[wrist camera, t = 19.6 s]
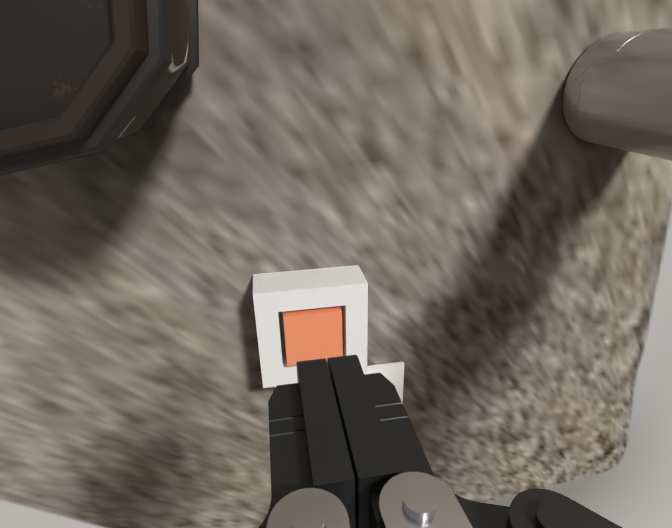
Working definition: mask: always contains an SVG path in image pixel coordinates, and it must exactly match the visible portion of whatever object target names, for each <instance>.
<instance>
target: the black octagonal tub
mask: <svg viewBox="0 0 672 528" xmlns="http://www.w3.org/2000/svg"><path fill="white" fill-rule="evenodd" d="M198 66H199V37H198V0H0V175H4V174H9V173H13V172H17V171H22V170H26V169H30V168H35V167H39V166H43V165H47V164H52V163H56V162H60V161H65V160H69V159H73V158H77V157H82V156H86V155H90V154H95V153H99V152H103V151H108V150H109V148H110V147H111V146H112V144H113V143H114V141H115V140H116V139H120V138H124V137H126V136H128V135H130V134H132V133H134V132H137V131H139V130H141V129H145V128H149V127H153V126H154V125H155V124H156V122H157V121H158V120H159V118H160V117H161V115H162V114H163V113H164V111H165V110H166V109H167V107H168V106H169V105H170V103H171V102H172V101H173V99H174V98H175V97H176V95H177V94H178V93H179V91H180V90H181V89H182V87H183V86H184V85H185V83H186V82H187V81H188V79H189V78H190V76H191V75H192V74H193V72H194V71H195V70H196V68H197V67H198Z"/></svg>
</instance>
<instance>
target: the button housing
mask: <svg viewBox="0 0 672 528" xmlns="http://www.w3.org/2000/svg"><path fill="white" fill-rule="evenodd" d="M253 301H254V310H255V319H256V328H257V337H258V346H259V355H260V364H261V373H262V382H263V388H269V387H276V386H277V385H285V384H293V383H298V380H297V365H293V366H287V359H286V349H285V337H284V325H283V313H282V312H285V311H294V310H304V309H314V308H324V307H334V306H340V307H341V310H342V341H343V356H348V355H357V356H358V358H359V361H360V364H361V367H362V370H363V373H364V375H365V374H367V311H368V283H367V281H366V279H365V277H364V275H363V273H362V271H361V269H360V267H359V266H358V265H354V266H342V267H331V268H319V269H308V270H297V271H285V272H274V273H262V274H253Z"/></svg>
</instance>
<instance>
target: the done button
mask: <svg viewBox="0 0 672 528" xmlns="http://www.w3.org/2000/svg"><path fill="white" fill-rule="evenodd" d="M282 313H283V325H284V337H285V349H286V359H287V366H293V365H296V362H298V361H306V360H315V359H323V358H326V361H327V358H331V357H339V356H343V341H342V310H341V307H340V306H334V307H324V308H314V309H304V310H294V311H285V312H282Z"/></svg>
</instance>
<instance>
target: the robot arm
mask: <svg viewBox="0 0 672 528" xmlns="http://www.w3.org/2000/svg"><path fill="white" fill-rule="evenodd" d="M563 113H564V117H565V120H566V123H567V125H568V127H569V128H570V130H571V131H572V133H574V134H575V135H576V136H577V137H578V138H580V139H582V140H584V141H586V142H590V143H594V144H599V145H603V146H608V147H613V148H617V149H621V150H625V151H630V152H635V153H639V154H644V155H649V156H653V157H658V158H663V159H667V160H672V27H671V28H661V29H650V30H641V31H631V32H622V33H616V34H612V35H608V36H606V37H604V38H602V39H600V40H598V41H597V42H595V43H594V44H593V45H591V46H590V47H589V48H588V49H587V50H586V51H585V52H584V53H583V54H582V55H581V56H580V57H579V59H578V60H577V62H576V63H575V65H574V66H573V68H572V70H571V72H570V74H569V76H568V79H567V81H566V85H565V89H564V93H563ZM296 365H297V380H298V383H293V384H285V385H277V386H276V388H275V390H274V392H273V394H272V396H271V398H270V400H269V401H268V404H269V433H270V462H271V492H272V497H271V505H270V509H269V512H268V514H267V516H266V518H265V520H264V522H263V523H262V524H261V526H260V527H259V528H622V527H620V526H618V525H616V524H614V523H613V522H611V521H609V520H607V519H606V518H604V517H602V516H600V515H598V514H597V513H595V512H593V511H591V510H589V509H588V508H585V507H584V506H582V505H580V504H579V503H577V502H575V501H573V500H571V499H570V498H568V497H565V496H564V495H561V494H559V493H557V492H554V491H550V490H546V489H529V490H525V491H523V492H521V493H519V494H518V495H517V496H516V497H515V498H514V499H513V500H512V503H511V505H510V507H506V506H500V505H493V504H486V503H480V502H474V501H470V500H467V499H464V498H462V497H460V496H458V495H456V494H454V493H453V492H452V490H451V489H450V488H449V487H448V486H447V485H446V484H445V483H444V482H442V481H441V480H439V479H438V478H436V477H435V475H434V474H433V472H432V470H431V468H430V465H429V463H428V461H427V458H426V456H425V454H424V452H423V449H422V447H421V445H420V442H419V440H418V438H417V436H416V433H415V431H414V429H413V426H412V424H411V422H410V420H409V418H408V417H407V413H406V411H405V408H404V406H403V405H402V402H401V399H400V397H399V395H398V392H397V390H396V388H395V385H394V384H392V383H391V382H390V381H389V380H388V379H387V378H386V377H385V376H383V375H382V374H381V373H373V374H365V375H364V373H363V370H362V367H361V364H360V361H359V358H358V356H357V355H348V356H339V357H331V358H327V361H326V358H323V359H315V360H306V361H298V362H296Z"/></svg>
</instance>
